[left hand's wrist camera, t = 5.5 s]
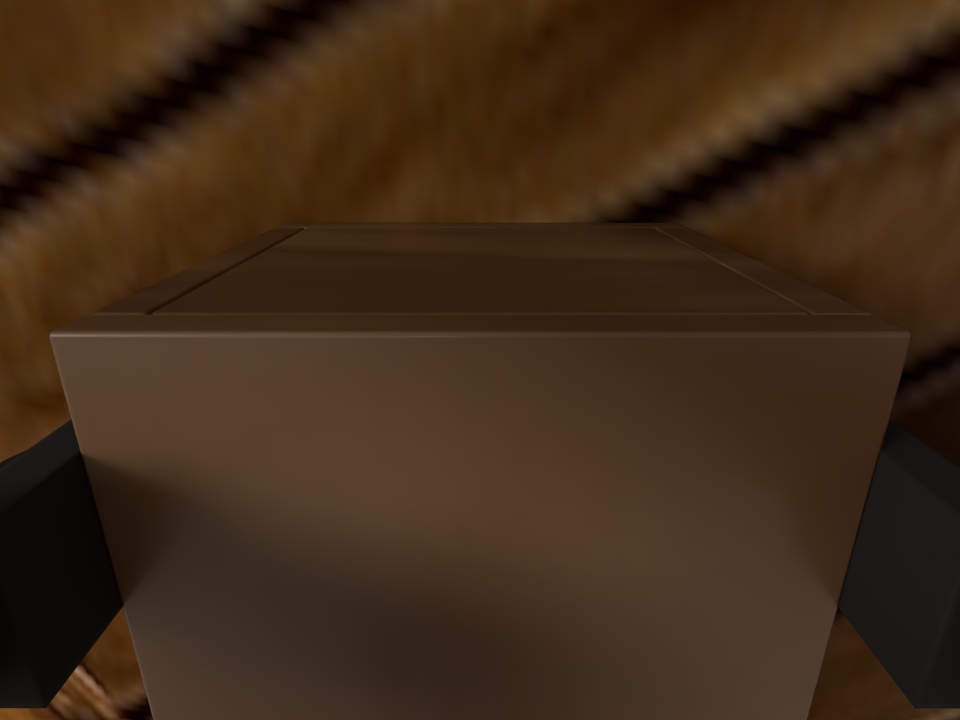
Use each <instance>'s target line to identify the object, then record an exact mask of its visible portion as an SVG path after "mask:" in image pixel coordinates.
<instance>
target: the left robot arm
mask: <svg viewBox="0 0 960 720" xmlns="http://www.w3.org/2000/svg"><path fill="white" fill-rule="evenodd" d="M122 607H123V606H122V602H121V598H120V595H119V591H118V587H117V584H116V580H115V576H114V573H113V569H112V565H111V562H110V558H109V554H108V551H107V547H106V543H105V540H104V536H103V532H102V529H101V525H100V521H99V518H98V514H97V510H96V507H95V503H94V499H93V496H92V492H91V488H90V485H89V481H88V477H87V474H86V470H85V466H84V463H83V459H82V455H81V452H80V448H79V444H78V441H77V437H76V433H75V430H74V426H73V422H72V419H71V420H70V421H68V422H67V423H65V424H64V425H63V426H61V427H60V428H58V429H57V430H55V431H54V432H53V433H51V434H50V435H48V436H47V437H45V438H44V439H43V440H41V441H40V442H38V443H37V444H35V445H34V446H33V447H31V448H30V449H28V450H26V451H24V452H22V453H20V454H17V455H15V456H13V457H11V458H8V459H6V460H4V461H3V462H1V463H0V708H46V707H47V706H48V704H49V703H50V702H51V700H52V699H53V698H54V696H55V695H56V694H57V692H58V691H59V690H60V689H61V687H62V686H63V685H64V683H65V682H66V681H67V679H68V678H69V677H70V675H71V674H72V673H73V671H74V670H75V669H76V667H77V666H78V665H79V663H80V662H81V661H82V659H83V658H84V657H85V655H86V654H87V653H88V652H89V650H90V649H91V648H92V646H93V645H94V644H95V642H96V641H97V640H98V638H99V637H100V636H101V634H102V633H103V632H104V630H105V629H106V628H107V626H108V625H109V624H110V622H111V621H112V620H113V618H114V617H115V616H116V614H117V613H118V612H119V611H120V609H121V608H122ZM838 607H839V608H840V610H841V611H842V612H843V614H844V615H845V616H846V618H847V619H848V620H849V622H850V623H851V624H852V626H853V627H854V628H855V629H856V631H857V632H858V633H859V635H860V636H861V637H862V639H863V640H864V641H865V643H866V644H867V645H868V647H869V648H870V649H871V651H872V652H873V653H874V655H875V656H876V657H877V659H878V660H879V661H880V663H881V664H882V665H883V666H884V668H885V669H886V670H887V672H888V673H889V674H890V676H891V677H892V678H893V680H894V681H895V682H896V684H897V685H898V686H899V688H900V689H901V690H902V692H903V693H904V694H905V696H906V697H907V698H908V700H909V701H910V702H911V704H912V705H913V706H914V707H915V708H960V460H959V459H958V458H956V457H953V456H951V455H949V454H947V453H944V452H942V451H940V450H938V449H935V448H933V447H931V446H929V445H926V444H924V443H922V442H921V441H920V440H918V439H917V438H915V437H914V436H912V435H911V434H910V433H908V432H907V431H905V430H904V429H902V428H901V427H900V426H898V425H897V424H895V423H894V422H892V421H891V420H890V419H889V422H888V425H887V429H886V433H885V436H884V440H883V444H882V447H881V451H880V455H879V458H878V462H877V466H876V469H875V473H874V477H873V480H872V484H871V488H870V491H869V495H868V498H867V502H866V506H865V509H864V513H863V517H862V520H861V524H860V528H859V531H858V535H857V539H856V542H855V546H854V550H853V553H852V557H851V561H850V564H849V568H848V571H847V575H846V579H845V582H844V586H843V590H842V593H841V597H840V601H839V604H838Z"/></svg>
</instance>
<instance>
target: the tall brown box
mask: <svg viewBox="0 0 960 720" xmlns="http://www.w3.org/2000/svg"><path fill="white" fill-rule="evenodd" d="M49 338H50V342H51V345H52V349H53V353H54V356H55V360H56V364H57V367H58V371H59V375H60V378H61V382H62V386H63V389H64V393H65V397H66V400H67V404H68V408H69V411H70V415H71V419H72V422H73V426H74V430H75V433H76V437H77V441H78V444H79V448H80V452H81V455H82V459H83V463H84V466H85V470H86V474H87V477H88V481H89V485H90V488H91V492H92V496H93V499H94V503H95V507H96V510H97V514H98V518H99V521H100V525H101V529H102V532H103V536H104V540H105V543H106V547H107V551H108V554H109V558H110V562H111V565H112V569H113V573H114V576H115V580H116V584H117V587H118V591H119V595H120V598H121V602H122V606H123V609H124V613H125V617H126V620H127V624H128V628H129V631H130V635H131V639H132V642H133V646H134V650H135V653H136V657H137V661H138V664H139V668H140V672H141V675H142V679H143V683H144V686H145V690H146V694H147V697H148V701H149V705H150V708H151V712H152V716H153V719H154V720H807V717H808V714H809V710H810V706H811V703H812V699H813V696H814V692H815V688H816V685H817V681H818V677H819V674H820V670H821V666H822V663H823V659H824V655H825V652H826V648H827V644H828V641H829V637H830V633H831V630H832V626H833V623H834V619H835V615H836V612H837V608H838V604H839V601H840V597H841V593H842V590H843V586H844V582H845V579H846V575H847V571H848V568H849V564H850V561H851V557H852V553H853V550H854V546H855V542H856V539H857V535H858V531H859V528H860V524H861V520H862V517H863V513H864V509H865V506H866V502H867V498H868V495H869V491H870V488H871V484H872V480H873V477H874V473H875V469H876V466H877V462H878V458H879V455H880V451H881V447H882V444H883V440H884V436H885V433H886V429H887V425H888V422H889V418H890V415H891V411H892V407H893V404H894V400H895V396H896V393H897V389H898V385H899V382H900V378H901V374H902V371H903V367H904V363H905V360H906V356H907V352H908V349H909V345H910V342H911V338H912V337H911V333H910V332H909V331H907V330H905V329H902V328H900V327H898V326H896V325H894V324H892V323H889V322H887V321H885V320H883V319H881V318H879V317H876V316H874V315H872V314H871V313H870V312H867V311H865V310H863V309H861V308H859V307H857V306H854V305H852V304H850V303H848V302H846V301H843V300H841V299H839V298H837V297H835V296H833V295H830V294H828V293H826V292H824V291H822V290H820V289H817V288H815V287H813V286H811V285H809V284H807V283H804V282H802V281H800V280H798V279H796V278H794V277H791V276H789V275H787V274H785V273H783V272H781V271H778V270H776V269H774V268H772V267H770V266H767V265H765V264H763V263H761V262H759V261H757V260H754V259H752V258H750V257H748V256H746V255H744V254H741V253H739V252H737V251H735V250H733V249H731V248H728V247H726V246H724V245H722V244H720V243H718V242H715V241H713V240H711V239H709V238H707V237H704V236H702V235H700V234H698V233H696V232H694V231H691V230H689V229H687V228H685V227H682V226H680V225H678V224H676V223H284V224H282V225H280V226H278V227H276V228H274V229H272V230H270V231H267V232H265V233H263V234H261V235H259V236H257V237H254V238H252V239H250V240H248V241H246V242H244V243H242V244H239V245H237V246H235V247H233V248H231V249H229V250H226V251H224V252H222V253H220V254H218V255H216V256H214V257H211V258H209V259H207V260H205V261H203V262H201V263H198V264H196V265H194V266H192V267H190V268H188V269H186V270H183V271H181V272H179V273H177V274H175V275H173V276H171V277H168V278H166V279H164V280H162V281H160V282H158V283H155V284H153V285H151V286H149V287H147V288H145V289H143V290H140V291H138V292H136V293H134V294H132V295H130V296H127V297H125V298H123V299H121V300H119V301H117V302H115V303H112V304H110V305H108V306H106V307H104V308H102V309H99V310H97V311H95V312H93V313H92V314H91V315H86V316H84V317H82V318H80V319H78V320H75V321H73V322H71V323H69V324H67V325H65V326H63V327H60V328H58V329H56V330H54V331H52V332H51V333H50V336H49Z"/></svg>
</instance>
